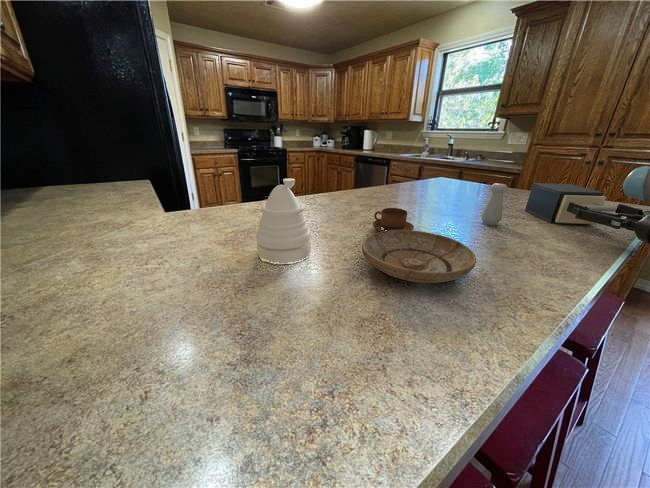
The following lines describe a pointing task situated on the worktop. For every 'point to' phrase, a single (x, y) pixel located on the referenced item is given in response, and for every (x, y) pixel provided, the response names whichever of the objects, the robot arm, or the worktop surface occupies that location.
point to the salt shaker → (494, 205)
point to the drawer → (583, 200)
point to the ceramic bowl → (418, 256)
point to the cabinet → (552, 199)
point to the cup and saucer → (392, 220)
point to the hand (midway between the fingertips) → (593, 207)
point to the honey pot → (283, 227)
